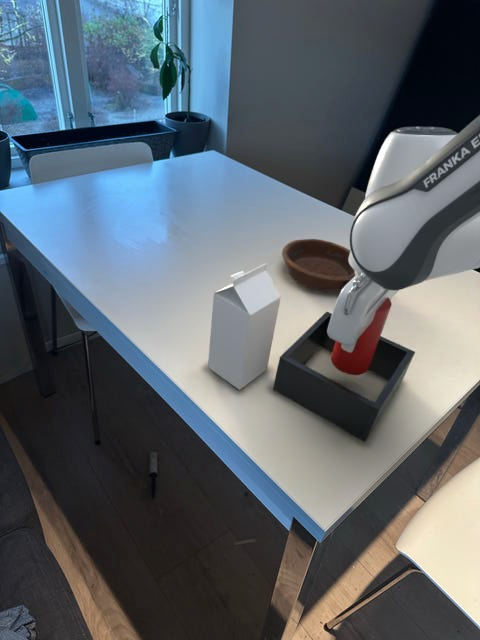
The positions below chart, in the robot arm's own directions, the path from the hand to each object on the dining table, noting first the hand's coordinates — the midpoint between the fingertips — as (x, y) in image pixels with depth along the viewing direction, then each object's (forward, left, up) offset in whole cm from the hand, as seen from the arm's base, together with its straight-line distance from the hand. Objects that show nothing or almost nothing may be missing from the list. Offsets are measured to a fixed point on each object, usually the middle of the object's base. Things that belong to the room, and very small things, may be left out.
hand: (358, 336), depth 67 cm
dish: (+19, -29, -11) cm, 36 cm away
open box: (0, 0, -11) cm, 11 cm away
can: (0, 0, -5) cm, 5 cm away
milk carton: (+15, +8, -11) cm, 21 cm away
